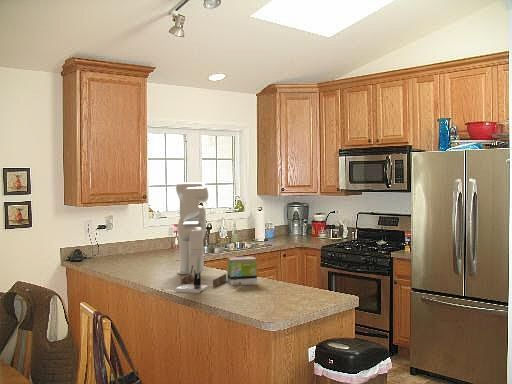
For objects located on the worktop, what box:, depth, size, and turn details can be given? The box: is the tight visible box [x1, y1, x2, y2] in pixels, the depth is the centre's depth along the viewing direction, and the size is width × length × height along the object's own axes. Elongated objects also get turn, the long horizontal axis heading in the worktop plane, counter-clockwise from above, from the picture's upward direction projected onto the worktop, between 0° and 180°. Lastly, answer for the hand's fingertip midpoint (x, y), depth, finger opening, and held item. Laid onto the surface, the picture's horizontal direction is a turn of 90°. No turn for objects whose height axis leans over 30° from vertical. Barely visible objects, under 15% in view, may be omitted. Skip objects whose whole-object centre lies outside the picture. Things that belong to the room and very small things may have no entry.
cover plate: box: [175, 284, 209, 294], centre depth 290 cm, size 10×14×2 cm
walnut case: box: [180, 272, 227, 288], centre depth 305 cm, size 17×20×5 cm
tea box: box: [226, 256, 258, 286], centre depth 305 cm, size 15×10×15 cm, turn 105°
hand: (197, 285), depth 296 cm, fingers closed
